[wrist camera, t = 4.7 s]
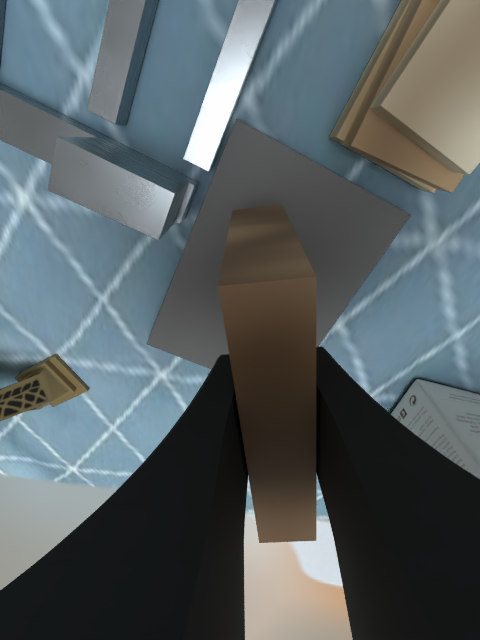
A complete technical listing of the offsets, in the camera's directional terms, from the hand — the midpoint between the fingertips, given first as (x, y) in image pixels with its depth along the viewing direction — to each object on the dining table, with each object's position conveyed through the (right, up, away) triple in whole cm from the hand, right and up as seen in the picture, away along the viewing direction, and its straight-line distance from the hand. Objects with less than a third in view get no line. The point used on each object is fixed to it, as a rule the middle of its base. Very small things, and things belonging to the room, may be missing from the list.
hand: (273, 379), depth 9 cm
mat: (0, +4, +6) cm, 7 cm away
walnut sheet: (0, +2, +3) cm, 4 cm away
